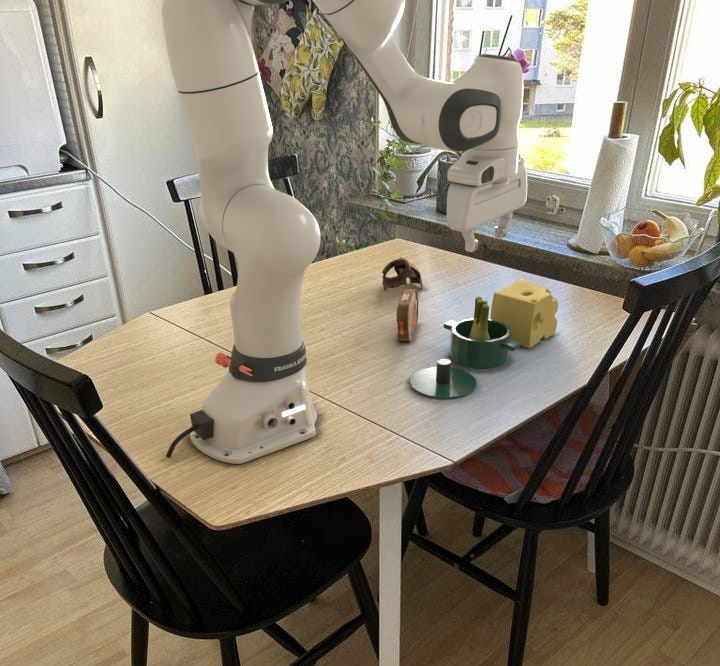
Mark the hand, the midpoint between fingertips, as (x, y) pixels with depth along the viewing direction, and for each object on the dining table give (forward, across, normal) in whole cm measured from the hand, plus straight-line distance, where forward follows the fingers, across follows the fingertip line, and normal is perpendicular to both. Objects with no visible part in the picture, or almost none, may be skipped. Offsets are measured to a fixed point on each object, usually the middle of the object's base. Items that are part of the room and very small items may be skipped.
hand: (486, 243), depth 131 cm
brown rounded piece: (+23, -20, -37) cm, 48 cm away
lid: (+22, +15, +2) cm, 26 cm away
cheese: (+23, -14, +1) cm, 27 cm away
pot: (+23, +1, 0) cm, 23 cm away
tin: (+23, 0, -19) cm, 30 cm away
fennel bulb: (+23, +1, 0) cm, 23 cm away
